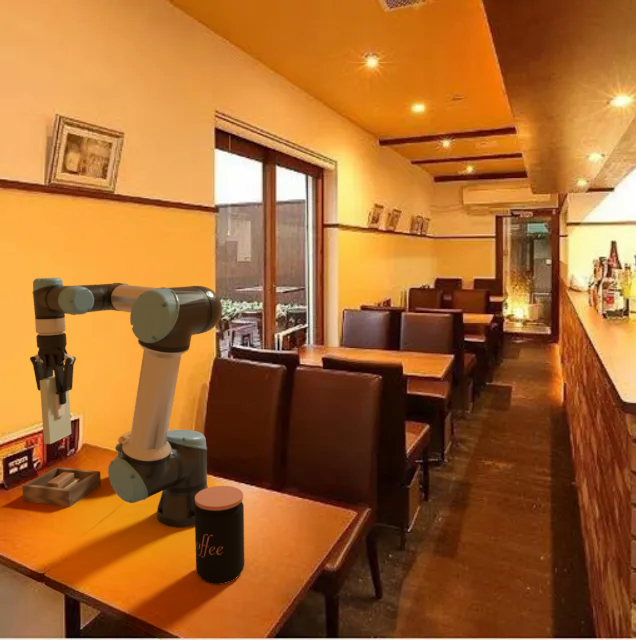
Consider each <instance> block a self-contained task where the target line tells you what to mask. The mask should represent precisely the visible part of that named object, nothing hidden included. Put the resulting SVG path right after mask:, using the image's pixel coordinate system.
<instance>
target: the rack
mask: <svg viewBox="0 0 636 640" xmlns="http://www.w3.org/2000/svg"><path fill="white" fill-rule="evenodd" d="M63 472H67V473H74V478H78V479H80V482H78V483H77V484H75V485H74V486H72V487H70V488H69V489H64V488H56V487H47V483H48V482H49V481H51V480H52V479H54V478H55V477H57V476H58V475H60V474H62V473H63ZM101 481H102V480H101V471H98V470H90V469H80V468H71V467H63V466H62V467H61V466H55V467H54V468H52V469H49V470H48V471H45V473H43V474H41V475H39V476H38V477H36V478H34V479H32V480H30V481H28V482H27V483H24V484H23V485H21V486H22V501H23V502H28V503H34V504H43V505H52V506H59V507H67V508H71V507H72V506H73V505H75V504H76V503H78V502H80V501H81V500H83V499H84V498H85V497H87V496H88V495H89V494H91V493H93V492H94V491H96V490H97V489H98V488H100V487H101V486H102V482H101Z"/></svg>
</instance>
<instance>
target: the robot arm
mask: <svg viewBox="0 0 636 640" xmlns="http://www.w3.org/2000/svg"><path fill="white" fill-rule="evenodd" d="M32 297H33V309H34V323H35V333H36V334H37V335H36V347H37V348H38V351H37V354H35V355H33V356H29V360H30V362H31V364H32V366H33V368H32V369H33V371H34V378H35V383H36V387H37V390H38V391H40V380H42V379H46V378H49V377H52V376H55V380H56V386H57V392H56V394H55V403H56V417H59V416H62V415H64V414H65V403H66V392H67V391H69V392H70V391H71V390H72V389H73V384H74V383H73V379H74V365H75V362H76V360H77V358H76V357H75V356H71V355H69V354H68V352H67V349H66V346H67V334H66V333H65V331H66V329H67V328H66V314H68V315H72V316H75V315H76V316H77V315H86V314H87V313H93V312H94V313H95V312H99V311H100V312H102V311H114V312H115V311H116V312H123V313H130V317H129V319H130V325H131V326H132V327H131V330H132V333H133V335H134V336H135V337H136V338H137V339H138V340H137V343H138V344H139V346H140V347H141V348H142V349H143V352H142V359H141V365H140V372H139V378H138V385H137V390H136V397H135V403H134V404H135V405H134V411H133V416H132V426H131V430H130V431H131V436H130V437H129V438H128V439H126V440H125V441H124V443H123V445H122V452H121V456H120V457H115V458H114V459H112V460H111V461H110V463H109V464H108V468H107V474H108V479H109V483H110V485H111V487H112V489H113V491H114V492H115V494H116V495H117V497H118V498H119V499H121V500H122V501H124V502H126V503H129V504H133V503H138V502H140V501H144V500H146V499H147V498H151V497H152V496H154V495H156V494H158V493H160V492H161V495H160V499H159V502H158V504H157V508H156V515H157V516H156V518H157V521H158V522H159V523H160V524H162V525H164V526H167V527H171V528H186V527H187V528H189V527H193V526H194V527H195V507H196V504H195V496H196V494H197V493H198V492H199V491H201V490H203V489H206V488H209V486H208V459H207V458H208V456H207V455H208V453H207V451H208V446H207V441H206V437H205V434H203V433H202V432H199V431H198V430H192V429H170V430H169V428H170V422H171V417H172V412H173V411H172V410H173V406H174V401H175V393H176V388H177V382H178V377H179V376H178V375H179V372H180V366H181V365H180V364H181V359H182V355H183V354H185V353H186V352H188V351H189V350H190V345H191V342H192V336H194V335H195V336H196V335H201V334H204V333H207V332H208V331H209V332H210V331H211V330H213V329H214V328H215V327H216V326H217V325H218V323H219V322H220V321H221V317H222V314H223V306H222V305H223V304H222V301H221V298H220V297H219V296H218V294H217V293H216V292H215V291H214V290H212V288H209V287H206V286H203V285H190V286H188V285H187V286H176V287H175V286H174V287H164V286H163V287H151V286H140V285H131V284H127V283H124V282H122V283H121V282H114V283H101V284H100V283H99V284H82V285H81V284H80V285H79V284H78V285H64V282H63V280H62V278H60V277H40V278H39V277H38V278H35V279H34V280H33V281H32Z"/></svg>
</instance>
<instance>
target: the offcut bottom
mask: <svg viewBox="0 0 636 640" xmlns="http://www.w3.org/2000/svg"><path fill="white" fill-rule="evenodd" d="M78 482H80V479H78V478H74V482H73V483H71V484H70V485H68V486H67V487H65V488H64V489H69V488H70V487H72V486H74V485H75V484H77V483H78Z"/></svg>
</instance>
